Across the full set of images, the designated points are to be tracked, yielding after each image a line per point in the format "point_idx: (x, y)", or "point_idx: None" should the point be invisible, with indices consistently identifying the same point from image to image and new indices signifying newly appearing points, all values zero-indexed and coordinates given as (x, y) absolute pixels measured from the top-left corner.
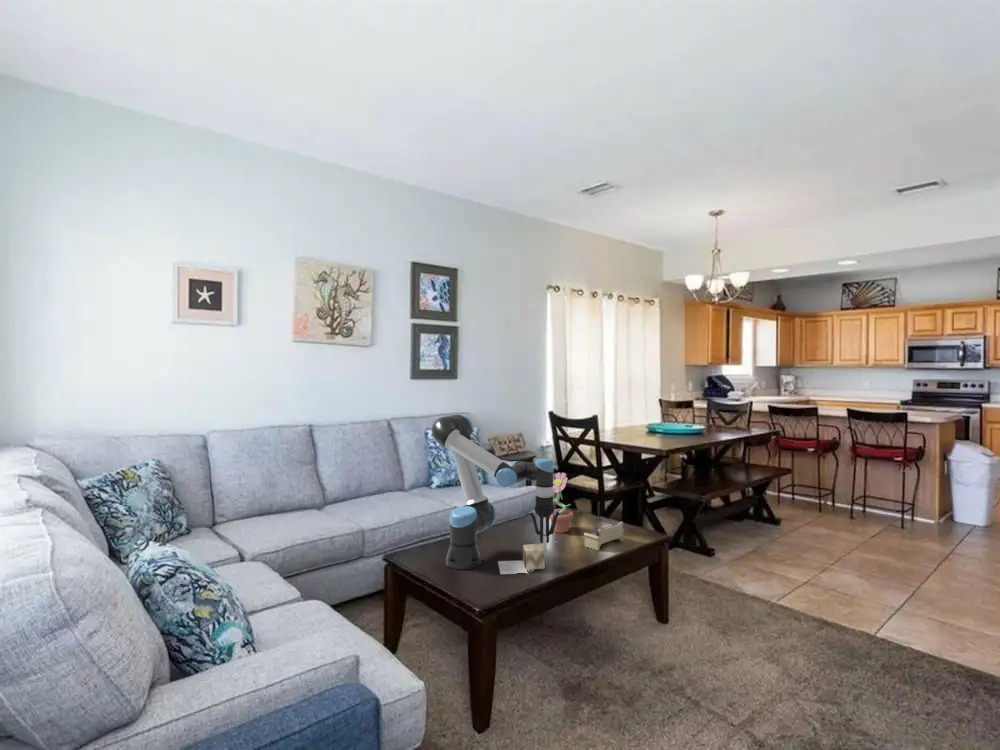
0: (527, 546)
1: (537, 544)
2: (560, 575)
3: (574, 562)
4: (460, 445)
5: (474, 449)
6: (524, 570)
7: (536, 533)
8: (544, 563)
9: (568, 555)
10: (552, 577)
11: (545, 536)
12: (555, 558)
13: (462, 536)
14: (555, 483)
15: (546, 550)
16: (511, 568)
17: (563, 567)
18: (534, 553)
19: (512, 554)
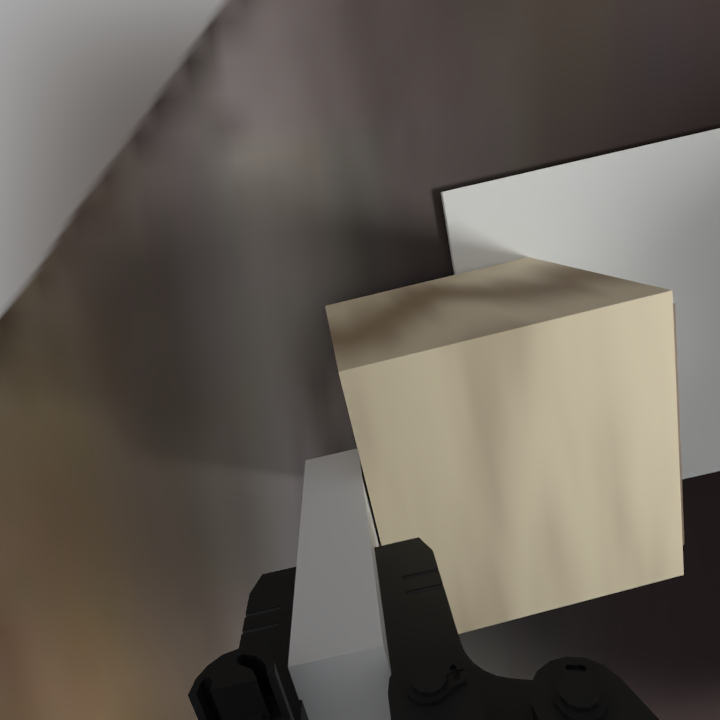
0: (625, 511)
1: (463, 605)
2: (128, 163)
3: (37, 547)
4: None
5: None
6: (550, 240)
7: (616, 681)
8: (329, 316)
9: (128, 694)
10: (215, 84)
11: (319, 654)
12: (243, 611)
13: None
14: None
15: (305, 465)
16: (690, 278)
17: (130, 404)
18: (497, 315)
19: (649, 636)
